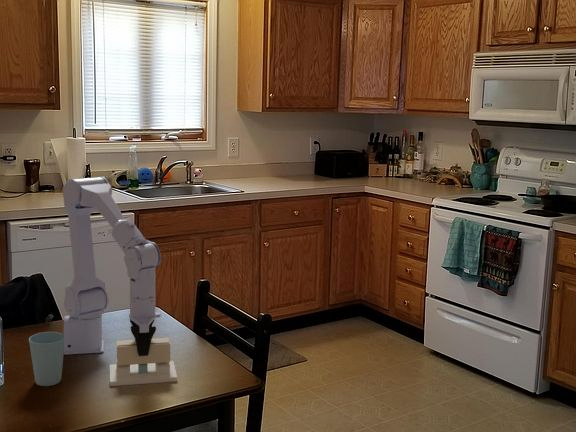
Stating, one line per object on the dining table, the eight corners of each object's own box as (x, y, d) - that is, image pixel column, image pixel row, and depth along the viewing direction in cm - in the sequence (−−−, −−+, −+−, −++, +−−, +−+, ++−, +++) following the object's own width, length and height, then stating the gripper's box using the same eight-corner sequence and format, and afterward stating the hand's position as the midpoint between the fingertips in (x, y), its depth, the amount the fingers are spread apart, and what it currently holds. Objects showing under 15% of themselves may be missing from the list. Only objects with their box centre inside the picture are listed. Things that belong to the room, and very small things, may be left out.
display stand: (109, 386, 154) (109, 373, 154) (109, 368, 164) (109, 356, 163) (177, 381, 158) (177, 369, 158) (173, 364, 168) (173, 352, 167)
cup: (47, 391, 151) (46, 346, 149) (22, 383, 154) (21, 339, 152) (73, 379, 157) (72, 335, 156) (48, 372, 161) (47, 329, 159)
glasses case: (117, 365, 157) (116, 346, 156) (116, 359, 161) (116, 340, 160) (170, 362, 160) (170, 343, 159) (168, 355, 164) (168, 337, 163)
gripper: (162, 304, 152) (162, 362, 154) (158, 286, 165) (158, 339, 168) (130, 305, 150) (130, 364, 152) (128, 287, 164) (128, 341, 166)
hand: (142, 351), depth 160 cm, fingers closed on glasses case, 4 cm apart
